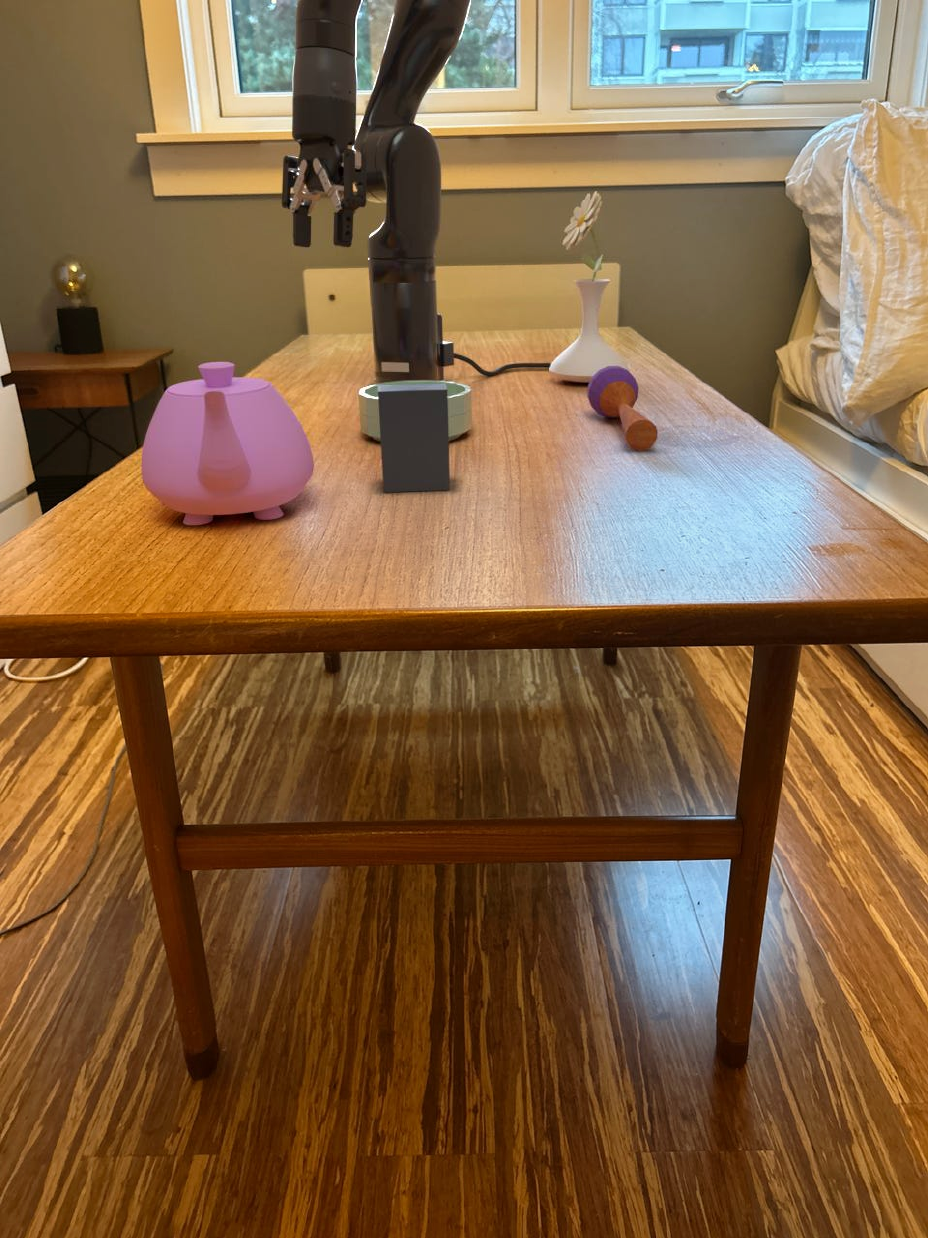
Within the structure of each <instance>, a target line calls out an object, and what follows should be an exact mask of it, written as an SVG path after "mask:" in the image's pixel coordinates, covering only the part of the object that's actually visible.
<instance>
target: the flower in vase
mask: <svg viewBox="0 0 928 1238" xmlns="http://www.w3.org/2000/svg"><path fill="white" fill-rule="evenodd" d="M602 204H603V200H602V196H601V195H600V193H599V192H598V191H597V190H596V191H594V193H593V194H592V196H591V194H590V193H587V194H586V196H585V198H584V199H583V200H582V201H581V204H580V206H576V207H574V210H573V216H571V218H570V224H568V225H566V227H565V229H564V233H565V234H567V235H566V236H565V238H564V239H563V241H562V246H565V250H572V249H574V248H575V247H576V246H579V244H580V243H581V242H582V241H583V240H584V239H585V238H586V237H587V234H588V233H589V232H590V234H591V237H592V239H593V242H594V245H595V250H596V261H594V260H593V259H592V257H590V255H589V254H588V252H587V250H586V251H584V252H583V254H582V256H581V261H582V263H583V264H584V265H585V266H587V267H588V268H589V269H591V270H592V271H593V275H592V278H582V279H581V278H580V279H574V280H573V283H574V284H575V286H576V287H577V289H578V292H579V296H580V300H581V310H582V321H581V323H582V324H581V330H580V332H579V335H578V337H577V338H576V340H575V341H574V342H573V343H571V344H570V345H569V346H568V347H567V348H566V349H564V350H563V351H562V352H561V353H560V354H559V355H558V356H556V357H555V358H554V360H553V361H552V362H550V363H551V365H550V368H548V370H549V373H550V374H551V376H553V377H556V378H557V379H559V380H562V381H567V382H572V383H581V384H582V383H584V384H589V383H590V381H591V378H592V377H593V376H594V375H595V374H596V373H597V372H598V371H599V370H601V369H603V368H605V367H608V366H620V367H622V368H625V369H627V370H628V371H629V367H628V364H627V362H626V361H625V359H623V357H622V356H621V355H619V353H618V352H616V351H615V350H614V349H613V348H612V347H611V346H610V345H609V344H608V343H607V342H606V341H605V340H604V339H603V338H602V337H601V334H600V331H599V330H600V329H599V316H600V315H599V314H600V307H601V306H600V305H601V301H602V298H603V294H604V292H605V289H606V287H607V286H608V285H609V283H610V282H611V280H610V279H607V278H596V277H597V272H598V271H601V270H602V268H603V267H602V261H603V258H604V254H603V253H602V254H601V255H600V247H599V244H598V241H597V237H596V234H595V232H594V229H593V227H592V226H593V225H594V224H595V223H596V221H597V219H598V215H599V213H600V211H601V207H602Z"/></svg>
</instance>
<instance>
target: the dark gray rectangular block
mask: <svg viewBox="0 0 928 1238" xmlns="http://www.w3.org/2000/svg"><path fill="white" fill-rule="evenodd" d="M378 403H379V421H380V438H381V442H380V453H381V455H380V456H381V470H382V488H383V489H382V490H383V493H409V492H435V491H436V492H437V491H450V490H451V482H450V481H451V480H450V479H451V478H450V477H451V476H450V475H451V473H450V441H449V434H448V394H447V387H446V384H445V383H444V384H412V385H380V386H378Z"/></svg>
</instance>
